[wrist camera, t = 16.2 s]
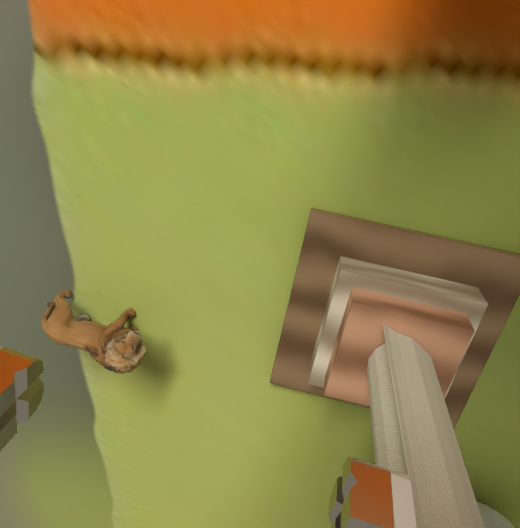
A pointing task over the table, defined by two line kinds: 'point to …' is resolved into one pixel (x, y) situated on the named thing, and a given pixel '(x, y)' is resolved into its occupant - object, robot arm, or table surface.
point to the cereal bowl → (493, 517)
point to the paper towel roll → (418, 433)
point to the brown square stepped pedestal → (391, 306)
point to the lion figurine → (95, 335)
